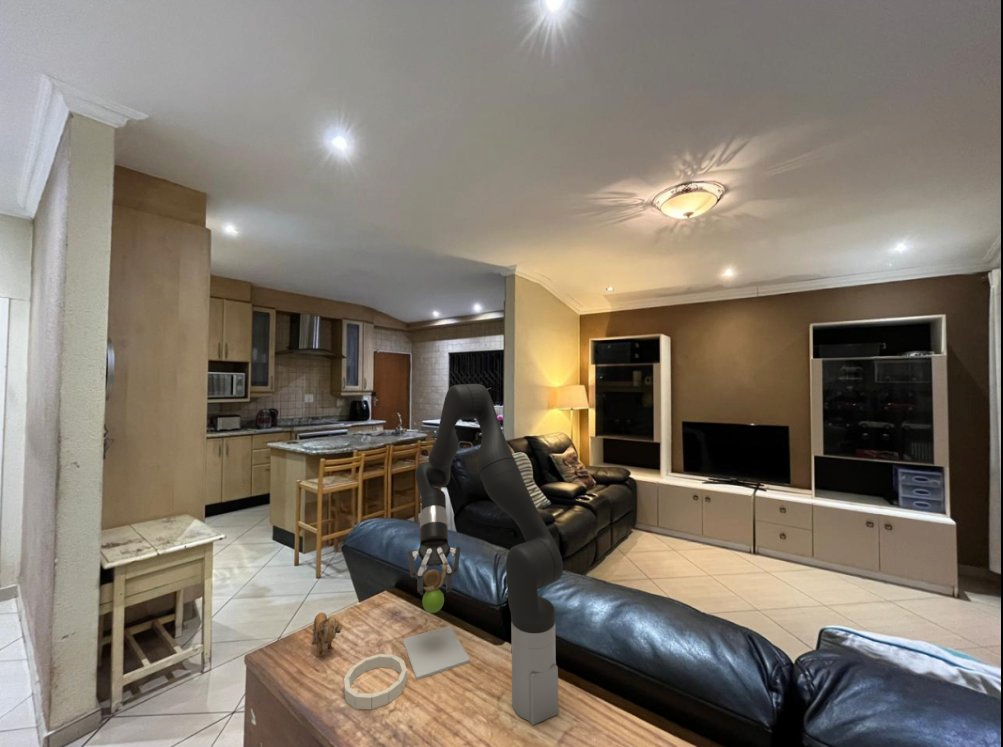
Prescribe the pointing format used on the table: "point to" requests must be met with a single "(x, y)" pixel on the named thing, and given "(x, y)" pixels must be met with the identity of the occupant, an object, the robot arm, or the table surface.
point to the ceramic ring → (382, 696)
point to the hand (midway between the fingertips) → (434, 592)
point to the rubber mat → (435, 652)
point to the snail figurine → (433, 589)
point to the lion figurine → (325, 631)
